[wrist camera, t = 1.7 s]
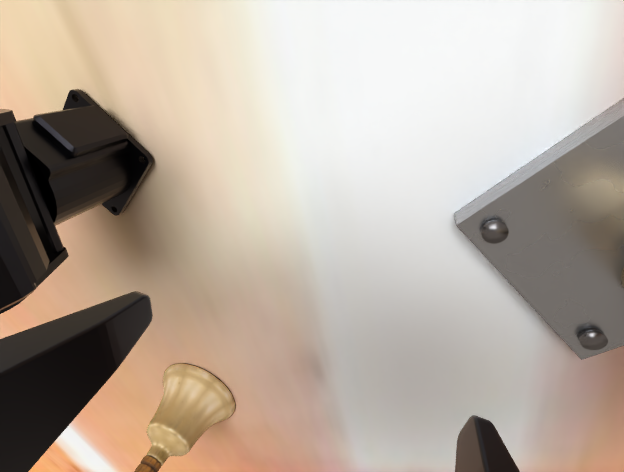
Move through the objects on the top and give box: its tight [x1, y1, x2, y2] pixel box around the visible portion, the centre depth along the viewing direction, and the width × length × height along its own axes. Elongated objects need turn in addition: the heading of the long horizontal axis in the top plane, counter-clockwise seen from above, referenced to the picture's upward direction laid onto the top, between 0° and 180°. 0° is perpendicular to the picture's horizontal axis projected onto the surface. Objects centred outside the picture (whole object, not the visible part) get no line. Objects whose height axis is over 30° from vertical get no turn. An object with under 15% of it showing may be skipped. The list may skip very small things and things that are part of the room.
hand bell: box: [135, 364, 235, 472], centre depth 28 cm, size 8×8×16 cm
